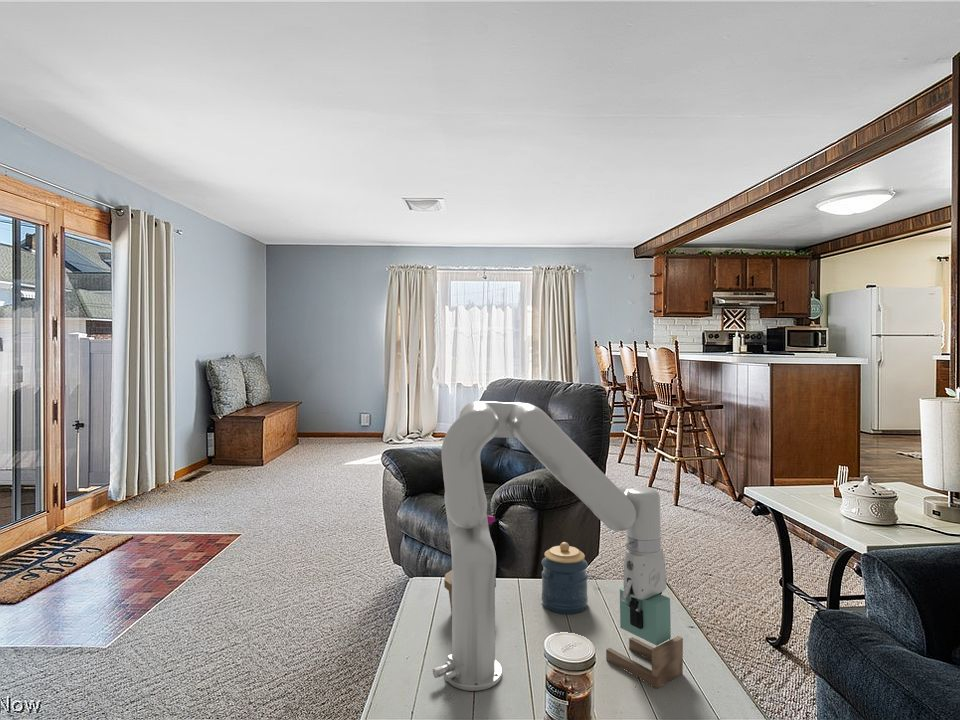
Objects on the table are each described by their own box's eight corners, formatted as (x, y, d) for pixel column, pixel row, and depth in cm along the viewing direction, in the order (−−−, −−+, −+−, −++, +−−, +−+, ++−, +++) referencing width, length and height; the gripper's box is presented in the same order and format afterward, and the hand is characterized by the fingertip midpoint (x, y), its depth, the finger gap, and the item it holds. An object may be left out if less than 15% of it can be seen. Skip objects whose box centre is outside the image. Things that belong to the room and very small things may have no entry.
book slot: (656, 688, 119) (656, 651, 119) (606, 660, 130) (606, 625, 130) (682, 673, 124) (682, 638, 124) (632, 647, 136) (632, 614, 135)
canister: (556, 618, 150) (556, 553, 150) (533, 599, 162) (533, 538, 162) (597, 609, 155) (597, 546, 155) (571, 591, 167) (571, 532, 167)
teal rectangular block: (656, 645, 122) (656, 604, 122) (620, 627, 130) (619, 589, 130) (670, 638, 125) (670, 598, 125) (634, 621, 133) (633, 583, 133)
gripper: (632, 556, 119) (634, 641, 119) (680, 539, 129) (681, 617, 129) (605, 547, 125) (606, 628, 125) (652, 531, 135) (654, 606, 135)
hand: (644, 621), depth 127 cm, fingers closed on teal rectangular block, 5 cm apart
